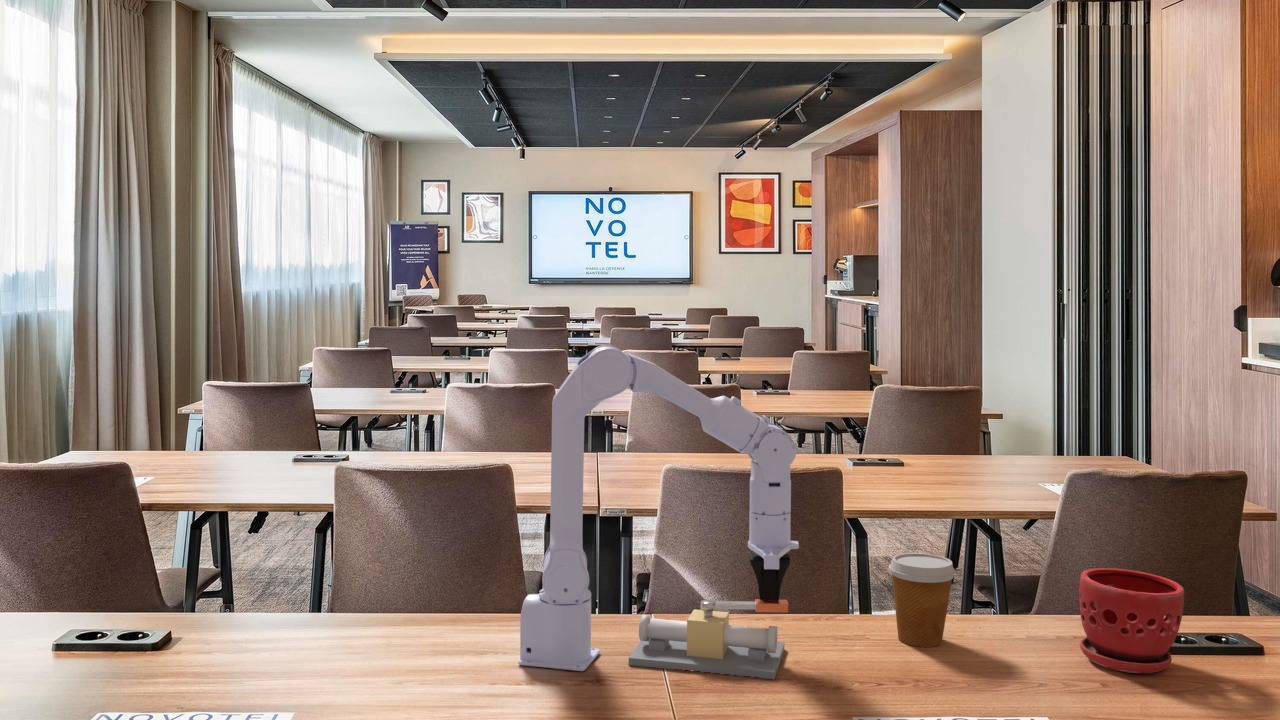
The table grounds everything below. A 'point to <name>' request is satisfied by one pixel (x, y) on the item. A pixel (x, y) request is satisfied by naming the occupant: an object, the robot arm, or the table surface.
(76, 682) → the table surface
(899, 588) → the disposable coffee cup
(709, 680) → the table surface
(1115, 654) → the plant pot
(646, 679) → the table surface
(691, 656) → the valve board
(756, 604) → the valve lever
